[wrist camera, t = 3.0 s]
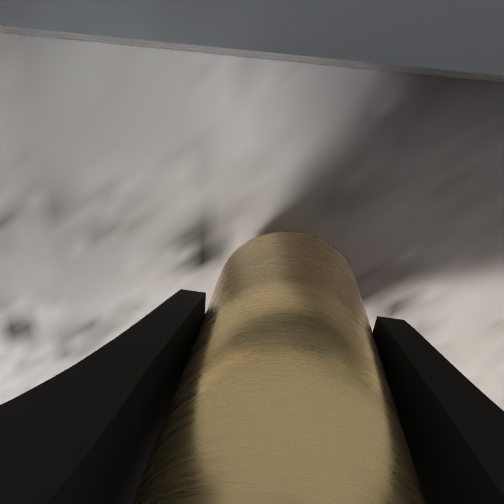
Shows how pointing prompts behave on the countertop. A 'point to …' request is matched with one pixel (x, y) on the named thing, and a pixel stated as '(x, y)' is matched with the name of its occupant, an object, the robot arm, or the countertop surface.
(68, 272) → the countertop surface
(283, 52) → the plate
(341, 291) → the slip bushing
